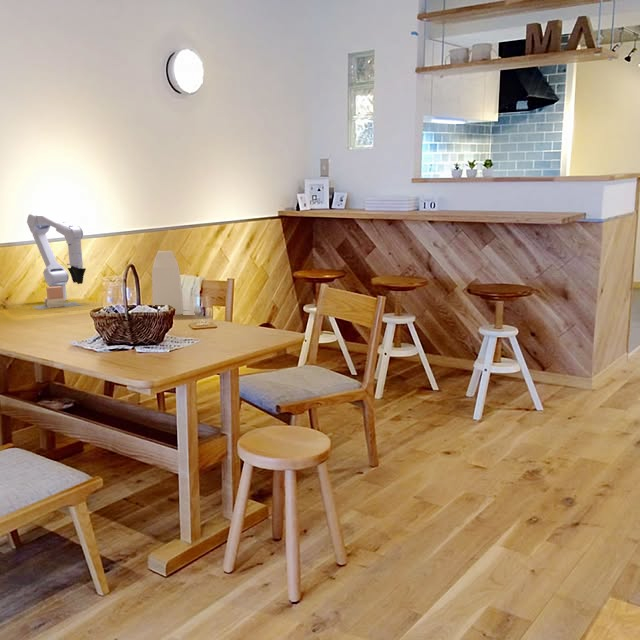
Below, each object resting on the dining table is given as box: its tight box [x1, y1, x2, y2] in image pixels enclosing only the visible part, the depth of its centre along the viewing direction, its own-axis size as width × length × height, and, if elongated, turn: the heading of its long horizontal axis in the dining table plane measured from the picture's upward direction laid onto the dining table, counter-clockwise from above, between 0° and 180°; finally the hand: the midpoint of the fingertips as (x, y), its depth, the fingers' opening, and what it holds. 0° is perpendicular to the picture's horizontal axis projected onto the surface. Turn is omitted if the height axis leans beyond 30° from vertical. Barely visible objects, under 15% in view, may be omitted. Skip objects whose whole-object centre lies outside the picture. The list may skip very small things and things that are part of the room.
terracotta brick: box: [46, 286, 63, 299], centre depth 328 cm, size 4×6×5 cm
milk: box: [151, 250, 185, 315], centre depth 307 cm, size 12×12×26 cm
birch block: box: [43, 297, 66, 309], centre depth 328 cm, size 7×7×4 cm
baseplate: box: [31, 301, 82, 311], centre depth 330 cm, size 13×19×2 cm
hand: (77, 283), depth 338 cm, fingers open, 7 cm apart
